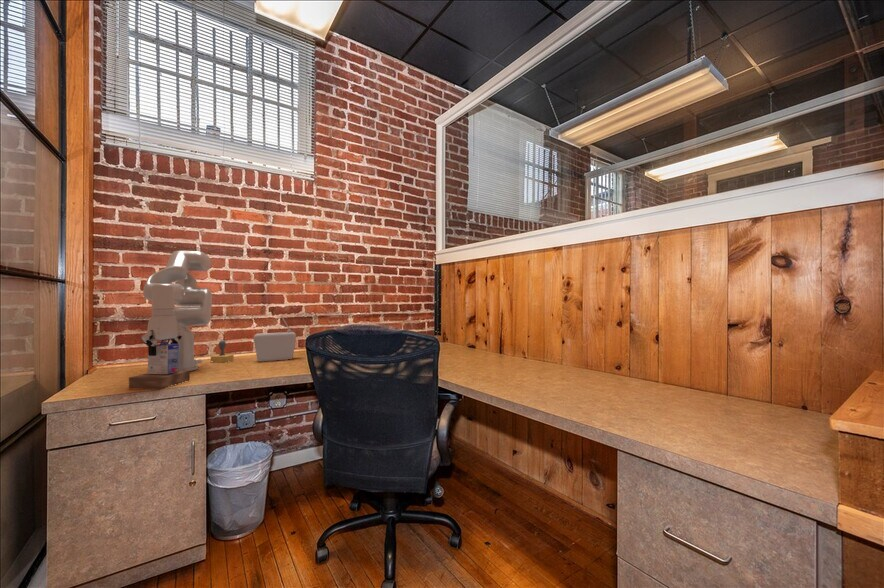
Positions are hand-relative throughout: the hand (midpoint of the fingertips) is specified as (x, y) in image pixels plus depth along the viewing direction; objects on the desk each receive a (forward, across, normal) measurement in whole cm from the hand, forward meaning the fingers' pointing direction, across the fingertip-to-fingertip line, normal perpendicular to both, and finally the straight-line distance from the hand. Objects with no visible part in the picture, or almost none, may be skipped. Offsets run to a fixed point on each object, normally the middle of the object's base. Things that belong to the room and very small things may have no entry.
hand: (163, 353), depth 148 cm
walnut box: (+13, +1, 0) cm, 13 cm away
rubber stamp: (+14, -48, -16) cm, 53 cm away
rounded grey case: (+14, -57, +11) cm, 60 cm away
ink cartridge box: (+8, 0, 0) cm, 9 cm away
